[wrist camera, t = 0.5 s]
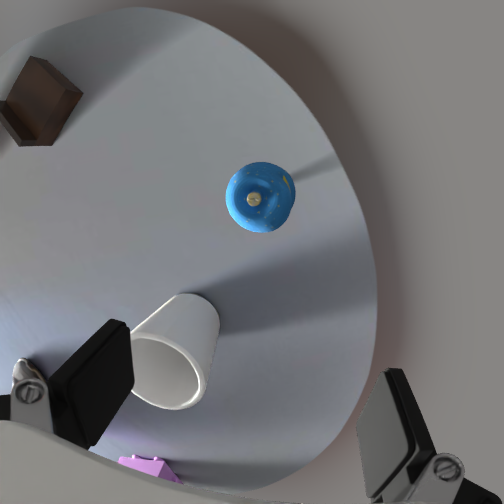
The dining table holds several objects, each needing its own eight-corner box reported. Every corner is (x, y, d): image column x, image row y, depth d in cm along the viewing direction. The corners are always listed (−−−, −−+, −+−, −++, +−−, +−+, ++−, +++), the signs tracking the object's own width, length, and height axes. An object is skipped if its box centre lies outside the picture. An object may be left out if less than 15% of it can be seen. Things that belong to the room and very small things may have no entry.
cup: (155, 334, 41) (113, 389, 29) (164, 272, 38) (114, 318, 26) (221, 356, 41) (197, 421, 28) (238, 296, 38) (214, 355, 25)
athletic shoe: (56, 375, 48) (23, 409, 36) (43, 421, 56) (21, 449, 44) (22, 342, 47) (-14, 371, 36) (16, 396, 55) (-8, 421, 43)
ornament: (290, 212, 34) (290, 247, 20) (244, 206, 34) (212, 236, 20) (296, 166, 33) (301, 167, 18) (250, 160, 33) (220, 157, 19)
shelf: (46, 60, 31) (16, 52, 25) (83, 93, 33) (51, 85, 26) (19, 107, 34) (-11, 105, 27) (52, 145, 35) (19, 146, 28)
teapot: (177, 456, 50) (158, 503, 38) (197, 481, 52) (183, 524, 40) (105, 449, 53) (83, 485, 41) (127, 473, 56) (109, 509, 44)
